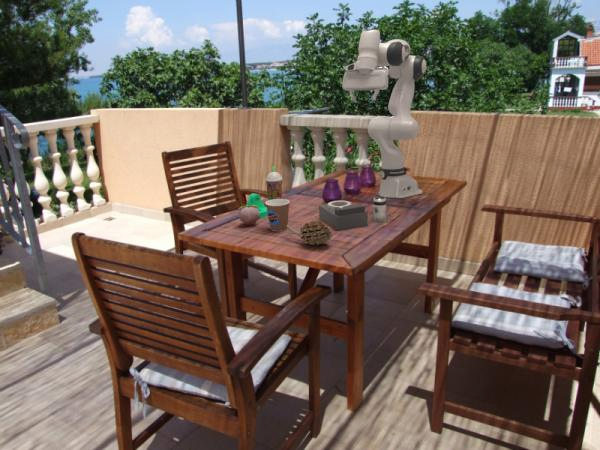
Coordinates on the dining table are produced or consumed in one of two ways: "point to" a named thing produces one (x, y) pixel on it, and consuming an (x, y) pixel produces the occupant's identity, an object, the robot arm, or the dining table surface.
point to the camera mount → (258, 204)
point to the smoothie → (274, 185)
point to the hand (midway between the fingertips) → (363, 100)
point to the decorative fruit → (248, 214)
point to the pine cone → (314, 232)
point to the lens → (379, 209)
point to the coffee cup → (278, 214)
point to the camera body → (343, 215)
